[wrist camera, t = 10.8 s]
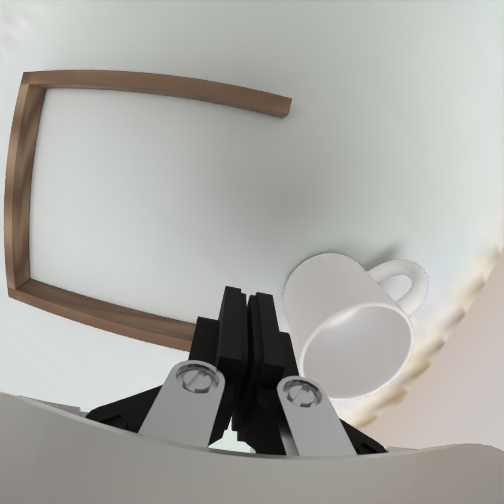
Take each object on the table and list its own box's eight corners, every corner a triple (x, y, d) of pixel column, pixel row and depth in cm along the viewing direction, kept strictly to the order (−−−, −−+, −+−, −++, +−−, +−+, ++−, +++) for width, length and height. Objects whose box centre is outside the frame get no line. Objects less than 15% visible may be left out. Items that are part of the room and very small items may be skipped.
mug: (377, 211, 26) (440, 244, 17) (408, 281, 29) (464, 333, 19) (264, 281, 28) (275, 348, 18) (307, 343, 30) (330, 417, 21)
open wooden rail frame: (40, 76, 21) (23, 72, 18) (286, 104, 23) (292, 98, 21) (23, 285, 28) (8, 296, 25) (228, 341, 30) (227, 359, 27)
